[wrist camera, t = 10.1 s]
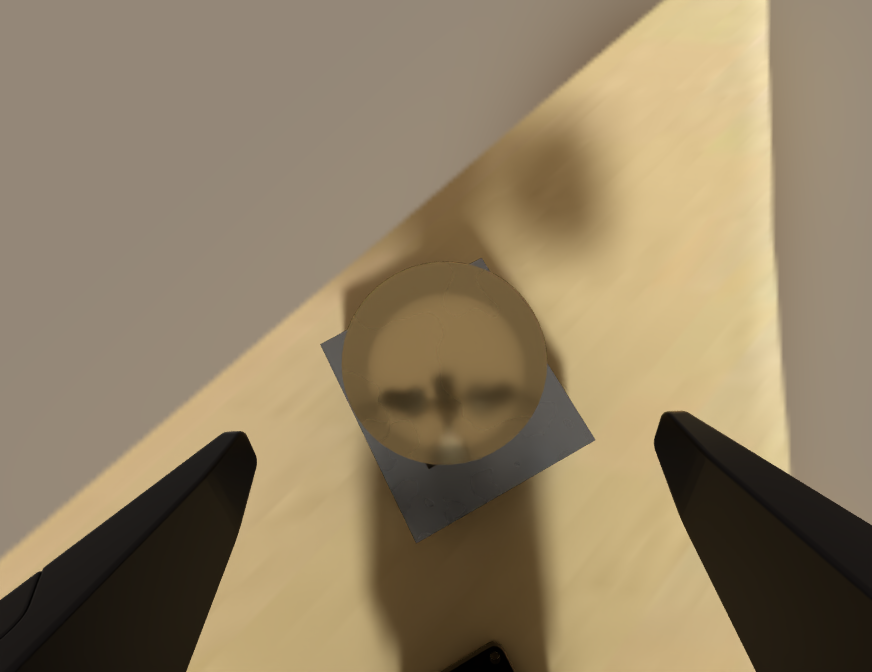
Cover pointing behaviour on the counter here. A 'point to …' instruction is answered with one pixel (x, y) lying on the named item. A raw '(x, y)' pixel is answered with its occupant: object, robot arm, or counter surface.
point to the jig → (479, 479)
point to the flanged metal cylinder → (444, 363)
